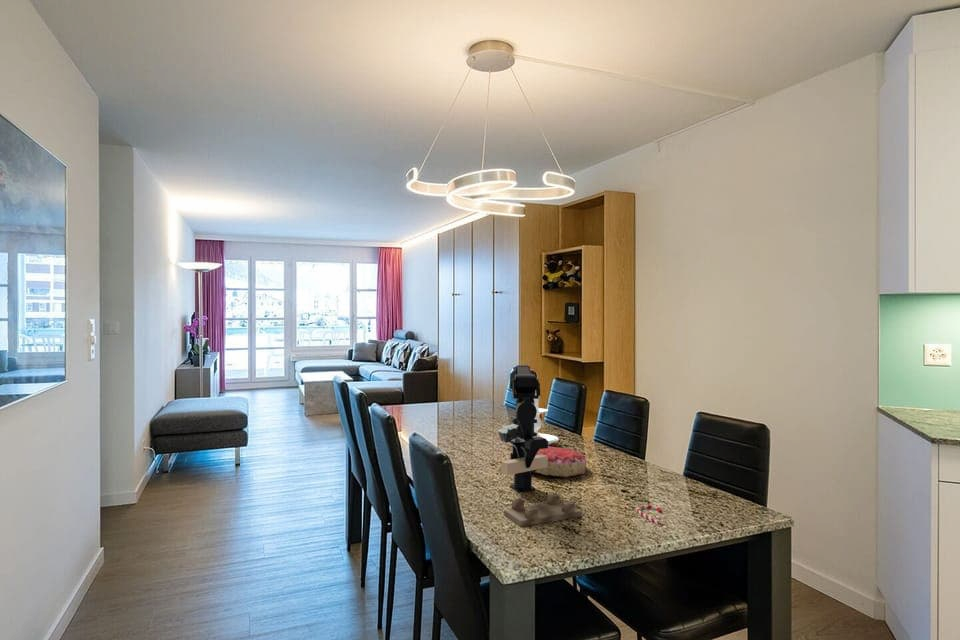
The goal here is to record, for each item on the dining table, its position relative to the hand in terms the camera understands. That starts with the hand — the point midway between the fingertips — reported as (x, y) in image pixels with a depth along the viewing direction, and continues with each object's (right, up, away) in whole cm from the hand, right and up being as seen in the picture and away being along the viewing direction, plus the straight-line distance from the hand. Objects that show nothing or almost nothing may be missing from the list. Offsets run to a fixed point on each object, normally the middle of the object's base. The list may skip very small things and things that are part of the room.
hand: (524, 466), depth 178 cm
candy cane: (+36, -12, -12) cm, 40 cm away
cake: (+13, -11, +38) cm, 41 cm away
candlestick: (+9, -11, +78) cm, 79 cm away
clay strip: (0, -1, 0) cm, 1 cm away
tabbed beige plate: (+4, -11, -12) cm, 17 cm away
